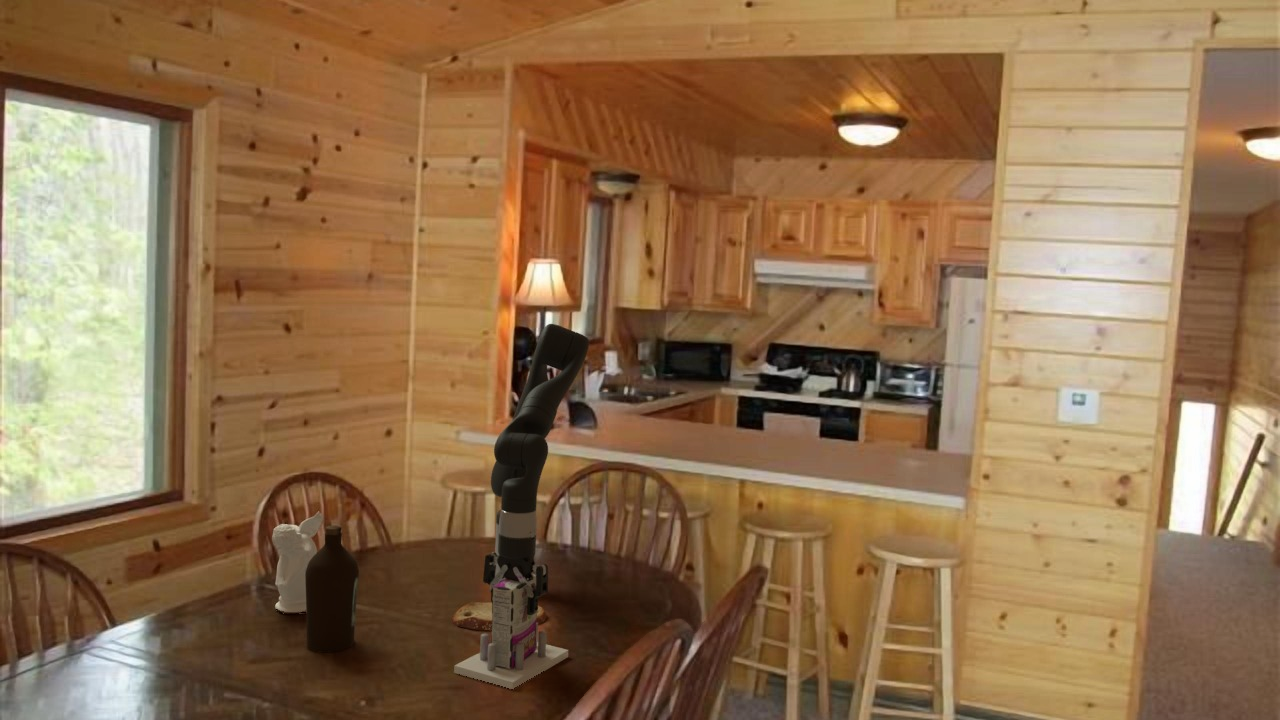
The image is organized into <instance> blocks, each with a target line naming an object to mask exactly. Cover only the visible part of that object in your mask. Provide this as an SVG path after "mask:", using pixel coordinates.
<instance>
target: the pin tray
mask: <svg viewBox="0 0 1280 720" xmlns="http://www.w3.org/2000/svg"><path fill="white" fill-rule="evenodd" d="M538 629H539V624H538V623H537V622H536V651H534V652H533V653H532V654H531V655H529V656H528V657H527V658H525V659H524V643H517V644H516V658H515V667H514V668H513V669H506V668H500V667H496V645H497V644H495V643H491V642H490V637H489V636H490V634H489V633H481V634H480V642H479V643H480V648H479V649H480V650H479V653H477V654H473V655H472V656H470V657H468V658H466V659H465V660H463V661H460V662H459V663H457V664H455V665H454V669H453V670H454V671H453V673H454V674H455V675H456V674H457V675H459V674H460V676H463V677H466V676H467V678H471V679H473V678H474V680H477V679H478V680H477V681H480V680H482V681H481V682H483V681H485V682H484V683H487V682H489V683H488V684H490V683H493V684H492V685H494V684H496V685H495V686H497V685H500V686H499V687H501V686H503V687H502V688H504V687H506V688H505V689H507V688H509V690H511V689H513V690H514V688H515V687H517V686H518V687H520V686H522V685H523V684H525V683H527V682H528V681H530V680H532V679H533V678H535V677H537V676H538V674H539V675H540V674H541V672H542V673H544V672H546V671H547V670H548V669H551V668H552V667H553V666H556V665H557V664H559V663H560V662H562V661H564V660H566V659H567V658H569V649H567V648H566V649H565V648H563V647H558V646H554V645H550V644H547V631H545V630H538ZM489 642H490V643H489ZM543 671H544V672H543ZM536 675H537V676H536ZM534 676H535V677H534ZM531 678H532V679H531ZM529 679H530V680H529ZM527 680H528V681H527ZM526 681H527V682H526ZM524 682H525V683H524ZM522 683H523V684H522ZM521 684H522V685H521ZM519 685H520V686H519ZM518 687H517V688H518ZM515 689H516V688H515Z"/></svg>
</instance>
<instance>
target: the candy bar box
mask: <svg viewBox="0 0 1280 720" xmlns="http://www.w3.org/2000/svg"><path fill="white" fill-rule="evenodd" d="M533 575H534V577H535V578H536V575H535V574H534V573H533ZM527 581H528V582H529V579H527ZM492 596H493V597H492V602H491V603H492V631H491V642H490V643H495V644H497V645H496V667H500V668H506V669H513V668H514V667H515V658H516V644H517V643H524V659H525V658H527V657H528V656H529V655H531V654H532V653H533V652H534V651H536V620H537V611H536V613H535V614H533V615H527V602H528V597H529V595H528V593H527V591H526V589H525V588H523V585H522V584H521V583H520V582H518V581H514V580H509V579H505V580H503V581H501V582H500V583H498V584H496V585H495V586H493V593H492Z"/></svg>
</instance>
